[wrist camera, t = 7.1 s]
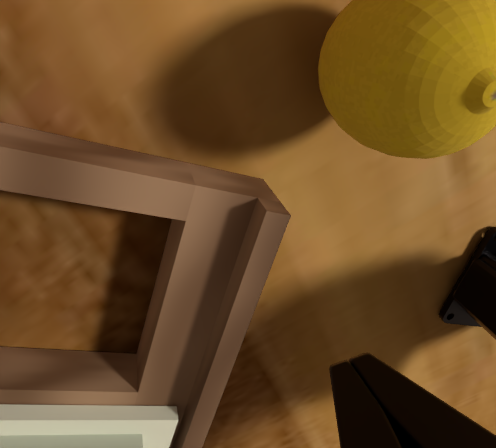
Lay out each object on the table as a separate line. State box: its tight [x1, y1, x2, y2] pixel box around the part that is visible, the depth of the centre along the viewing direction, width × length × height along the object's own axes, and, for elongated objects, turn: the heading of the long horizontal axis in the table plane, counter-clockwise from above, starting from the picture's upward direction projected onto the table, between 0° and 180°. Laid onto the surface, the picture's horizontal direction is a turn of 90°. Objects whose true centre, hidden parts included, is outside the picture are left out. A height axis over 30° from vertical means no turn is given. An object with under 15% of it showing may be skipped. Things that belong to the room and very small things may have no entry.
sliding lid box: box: [0, 122, 291, 448], centre depth 19 cm, size 16×20×4 cm
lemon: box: [318, 0, 496, 159], centre depth 14 cm, size 6×6×8 cm
